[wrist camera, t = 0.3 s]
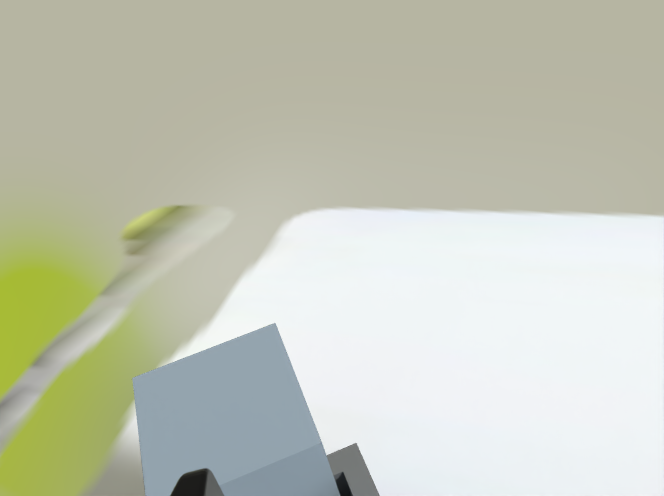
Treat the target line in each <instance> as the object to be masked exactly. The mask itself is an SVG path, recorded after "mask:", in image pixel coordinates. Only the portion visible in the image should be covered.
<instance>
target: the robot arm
mask: <svg viewBox="0 0 664 496" xmlns="http://www.w3.org/2000/svg"><path fill="white" fill-rule="evenodd" d="M170 496H224V494H223V492H222V490H221V488H220V486H219V484H218V482H217V480H216V478H215V477H214V475H213V473H212V471H211V470H210V469H208V468H203V469H199V470H195V471H191V472H187V473H185V474H183V475H182V476H181V477H180V478H179V480H178V481H177V483H176V485H175V487H174V489H173V491H172V493H171V495H170Z"/></svg>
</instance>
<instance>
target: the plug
mask: <svg viewBox="0 0 664 496" xmlns="http://www.w3.org/2000/svg"><path fill="white" fill-rule="evenodd" d="M133 387H134V396H135V405H136V415H137V424H138V433H139V442H140V451H141V460H142V469H143V478H144V487H145V496H170V495H171V493H172V491H173V489H174V487H175V485H176V483H177V481H178V480H179V478H180V477H181V476H182V475H183V474H185V473H187V472H191V471H195V470H199V469H203V468H208V469H210V470H211V471H212V473H213V475H214V477H215V478H216V480H217V482H218V484H219V486H220V488H221V490H222V492H223V494H224V496H340V493H339V491H338V488H337V485H336V482H335V479H334V476H333V473H332V470H331V468H330V465H329V462H328V459H327V456H326V453H325V450H324V447H323V445H322V442H321V439H320V437H319V434H318V431H317V429H316V426H315V424H314V421H313V419H312V416H311V413H310V411H309V408H308V406H307V403H306V401H305V398H304V395H303V393H302V390H301V388H300V385H299V383H298V380H297V377H296V375H295V372H294V370H293V367H292V365H291V362H290V360H289V357H288V354H287V352H286V349H285V347H284V344H283V342H282V339H281V336H280V334H279V331H278V329H277V326H276V324H275V323H274V324H271V325H269V326H266V327H263V328H261V329H258V330H256V331H253V332H250V333H248V334H245V335H243V336H240V337H237V338H235V339H232V340H230V341H227V342H224V343H222V344H219V345H217V346H214V347H212V348H209V349H206V350H204V351H201V352H199V353H196V354H193V355H191V356H188V357H186V358H183V359H180V360H178V361H175V362H173V363H170V364H167V365H165V366H162V367H160V368H157V369H154V370H152V371H150V372H147V373H144V374H141V375H139V376H136V377H134V378H133Z"/></svg>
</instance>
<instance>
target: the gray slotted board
mask: <svg viewBox="0 0 664 496" xmlns="http://www.w3.org/2000/svg"><path fill="white" fill-rule="evenodd" d="M327 459H328V462H329V465H330V468H331V470H332V473H333V476H334V479H335V482H336V485H337V488H338V491H339V493H340V496H379V493H378V491H377V489H376V486H375V484H374V482H373V480H372V477H371V475H370V473H369V471H368V468H367V466H366V464H365V462H364V459H363V457H362V455H361V453H360V450H359V448H358V446H357V443H355V444H353V445H350V446H348V447H346V448H343V449H341V450H338V451H336V452H334V453H331V454H329V455H327Z"/></svg>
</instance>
